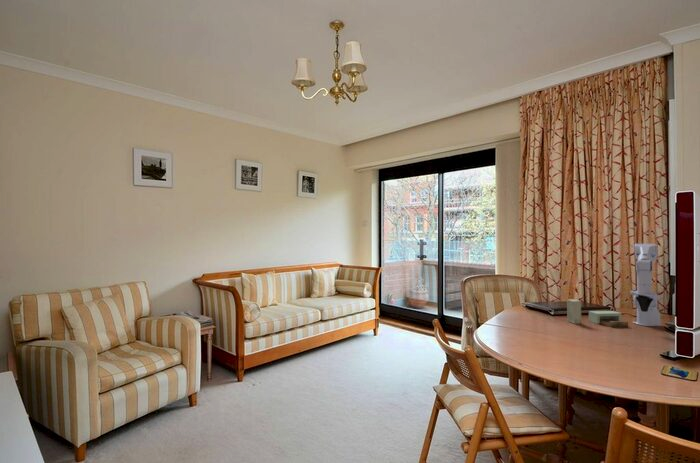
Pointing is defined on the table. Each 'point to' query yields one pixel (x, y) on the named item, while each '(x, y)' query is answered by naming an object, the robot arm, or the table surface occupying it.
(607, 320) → the board
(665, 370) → the table surface
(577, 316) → the skincare box
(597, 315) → the shelf
